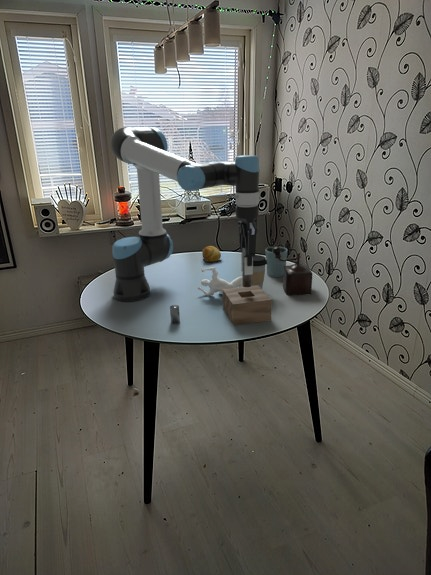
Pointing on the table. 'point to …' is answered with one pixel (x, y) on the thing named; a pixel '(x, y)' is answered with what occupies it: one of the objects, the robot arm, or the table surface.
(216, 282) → the person figurine
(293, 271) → the manual coffee grinder
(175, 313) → the short pin
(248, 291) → the pin block
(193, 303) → the table surface
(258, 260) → the coffee cup
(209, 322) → the table surface
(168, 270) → the table surface
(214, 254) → the bread roll
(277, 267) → the light blue mug
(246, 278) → the long pin
